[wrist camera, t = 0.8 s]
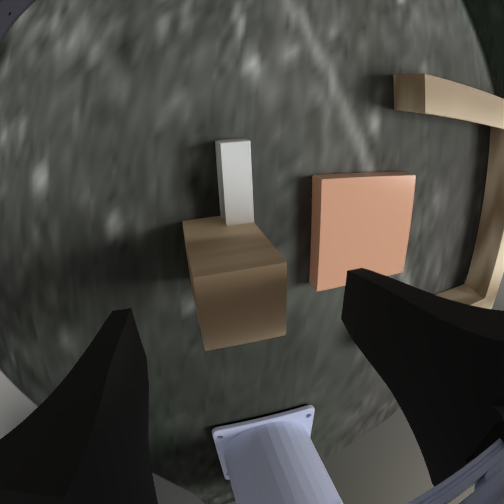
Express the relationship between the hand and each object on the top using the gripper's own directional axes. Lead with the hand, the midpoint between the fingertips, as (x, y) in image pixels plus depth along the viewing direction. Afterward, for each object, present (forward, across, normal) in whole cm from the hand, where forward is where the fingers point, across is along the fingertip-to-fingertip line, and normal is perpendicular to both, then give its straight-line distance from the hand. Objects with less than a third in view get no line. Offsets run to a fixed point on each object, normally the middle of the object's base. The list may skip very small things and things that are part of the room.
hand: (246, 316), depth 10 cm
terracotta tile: (+6, -8, 0) cm, 10 cm away
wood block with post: (+6, -1, 0) cm, 6 cm away
